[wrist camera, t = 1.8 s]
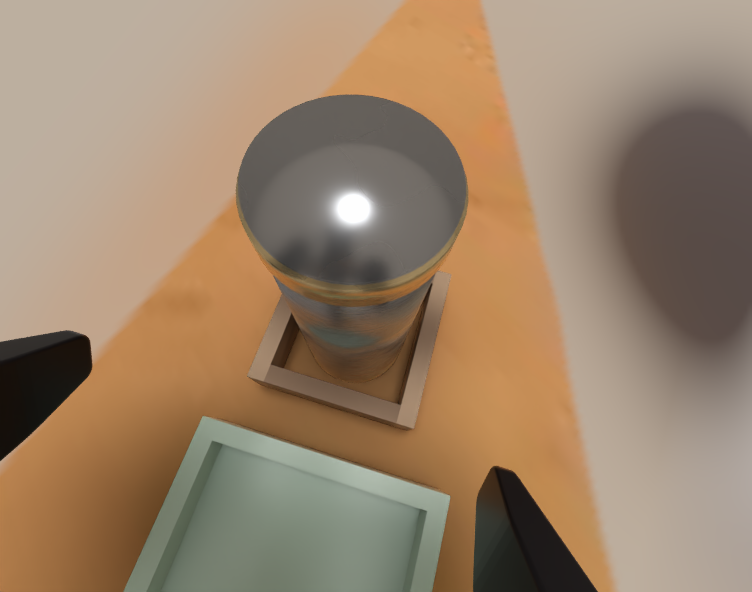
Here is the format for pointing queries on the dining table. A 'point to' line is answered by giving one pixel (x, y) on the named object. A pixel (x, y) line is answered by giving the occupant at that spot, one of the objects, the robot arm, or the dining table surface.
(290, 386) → the holder
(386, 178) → the grey cylindrical piece
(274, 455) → the tray
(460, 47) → the dining table surface
